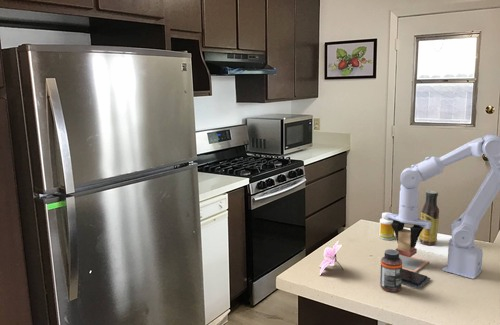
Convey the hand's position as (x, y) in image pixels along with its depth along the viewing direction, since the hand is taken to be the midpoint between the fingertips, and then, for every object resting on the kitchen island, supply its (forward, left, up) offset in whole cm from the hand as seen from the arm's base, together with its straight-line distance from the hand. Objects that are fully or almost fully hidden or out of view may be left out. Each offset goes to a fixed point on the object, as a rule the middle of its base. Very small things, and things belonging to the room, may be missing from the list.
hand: (406, 244), depth 143 cm
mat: (0, 0, -6) cm, 6 cm away
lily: (+15, +21, -7) cm, 27 cm away
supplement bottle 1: (+16, -18, -7) cm, 25 cm away
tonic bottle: (+2, -23, -7) cm, 24 cm away
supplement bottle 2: (-4, +20, -7) cm, 21 cm away
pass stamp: (0, 0, -3) cm, 3 cm away
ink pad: (-6, +11, -6) cm, 14 cm away
